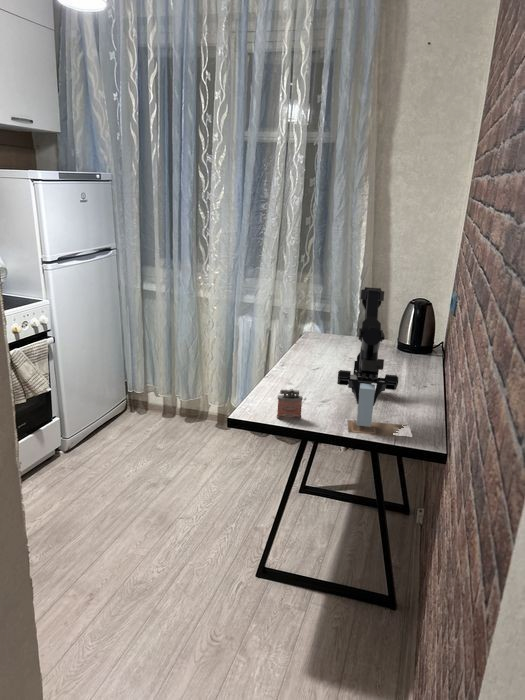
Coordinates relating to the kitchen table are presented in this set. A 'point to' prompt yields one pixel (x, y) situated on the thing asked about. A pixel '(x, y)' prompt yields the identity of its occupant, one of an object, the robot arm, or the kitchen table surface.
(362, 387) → the tall block
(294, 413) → the lighter
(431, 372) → the kitchen table surface
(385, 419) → the kitchen table surface
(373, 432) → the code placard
